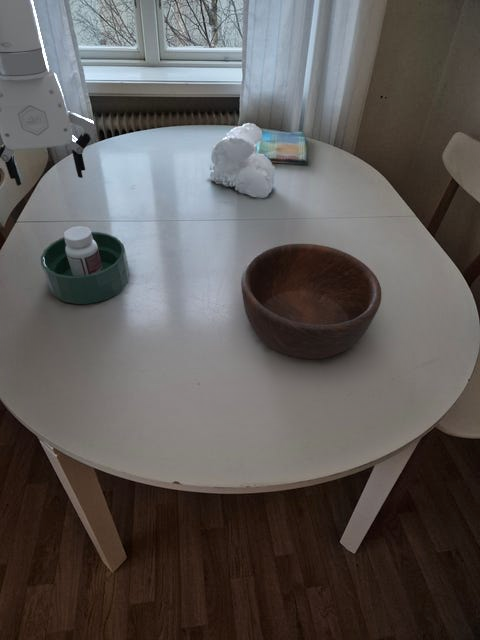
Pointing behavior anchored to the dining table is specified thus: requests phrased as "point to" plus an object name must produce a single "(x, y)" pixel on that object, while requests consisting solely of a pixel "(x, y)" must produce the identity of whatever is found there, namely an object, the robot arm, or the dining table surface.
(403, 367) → the dining table surface
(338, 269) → the wooden bowl
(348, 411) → the dining table surface
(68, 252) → the pill bottle
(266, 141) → the colourful book
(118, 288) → the green faceted bowl
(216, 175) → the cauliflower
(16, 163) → the robot arm
